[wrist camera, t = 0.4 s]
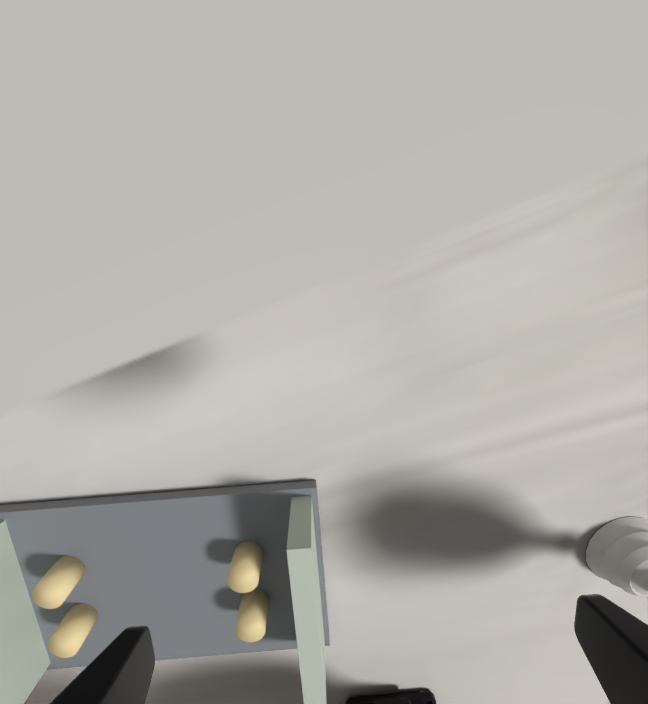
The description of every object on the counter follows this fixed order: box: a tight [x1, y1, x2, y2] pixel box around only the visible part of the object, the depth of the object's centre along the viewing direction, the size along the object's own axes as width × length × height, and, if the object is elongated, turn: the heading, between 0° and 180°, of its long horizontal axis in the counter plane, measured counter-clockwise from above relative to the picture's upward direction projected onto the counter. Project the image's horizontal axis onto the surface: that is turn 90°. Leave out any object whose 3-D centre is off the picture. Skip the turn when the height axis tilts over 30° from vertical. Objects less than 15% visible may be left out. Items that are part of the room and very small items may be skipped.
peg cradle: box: [0, 480, 330, 704], centre depth 22 cm, size 12×20×5 cm, turn 94°
